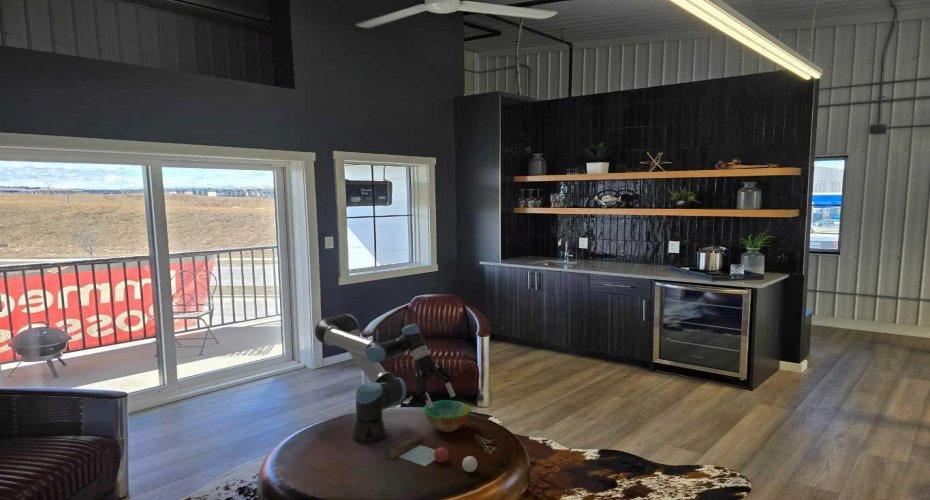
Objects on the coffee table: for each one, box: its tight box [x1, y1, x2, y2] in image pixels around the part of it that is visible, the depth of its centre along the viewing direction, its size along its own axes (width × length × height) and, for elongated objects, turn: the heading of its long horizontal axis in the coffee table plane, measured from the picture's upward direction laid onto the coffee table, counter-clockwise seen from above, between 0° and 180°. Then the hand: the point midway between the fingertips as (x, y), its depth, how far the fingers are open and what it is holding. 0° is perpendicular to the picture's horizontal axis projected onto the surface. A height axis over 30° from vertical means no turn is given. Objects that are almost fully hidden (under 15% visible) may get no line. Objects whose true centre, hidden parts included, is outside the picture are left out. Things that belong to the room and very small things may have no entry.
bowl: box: [422, 399, 472, 433], centre depth 264 cm, size 22×22×10 cm
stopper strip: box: [386, 435, 423, 460], centre depth 243 cm, size 2×20×2 cm, turn 146°
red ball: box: [434, 446, 449, 464], centre depth 232 cm, size 6×6×6 cm
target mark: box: [398, 444, 436, 467], centre depth 238 cm, size 14×14×1 cm
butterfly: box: [475, 434, 503, 458], centre depth 246 cm, size 18×4×10 cm
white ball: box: [461, 455, 478, 473], centre depth 224 cm, size 6×6×6 cm
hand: (442, 401), depth 247 cm, fingers open, 13 cm apart
